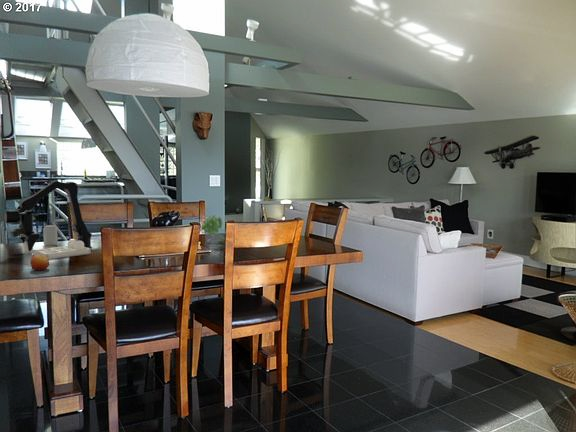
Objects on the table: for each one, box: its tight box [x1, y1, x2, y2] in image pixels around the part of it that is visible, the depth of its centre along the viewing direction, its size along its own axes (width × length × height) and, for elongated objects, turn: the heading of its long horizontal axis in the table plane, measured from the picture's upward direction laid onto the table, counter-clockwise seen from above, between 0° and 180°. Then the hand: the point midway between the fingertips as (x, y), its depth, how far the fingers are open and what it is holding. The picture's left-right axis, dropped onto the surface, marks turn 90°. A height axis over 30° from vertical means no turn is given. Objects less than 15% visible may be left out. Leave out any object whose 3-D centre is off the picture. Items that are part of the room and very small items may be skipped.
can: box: [42, 224, 58, 247], centre depth 279 cm, size 8×8×12 cm
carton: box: [32, 238, 92, 260], centre depth 250 cm, size 24×16×8 cm
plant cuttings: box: [200, 214, 226, 244], centre depth 300 cm, size 35×17×22 cm
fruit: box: [30, 255, 51, 272], centre depth 213 cm, size 8×8×8 cm
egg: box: [21, 241, 34, 255], centre depth 252 cm, size 5×5×7 cm
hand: (27, 250), depth 252 cm, fingers closed on egg, 5 cm apart
